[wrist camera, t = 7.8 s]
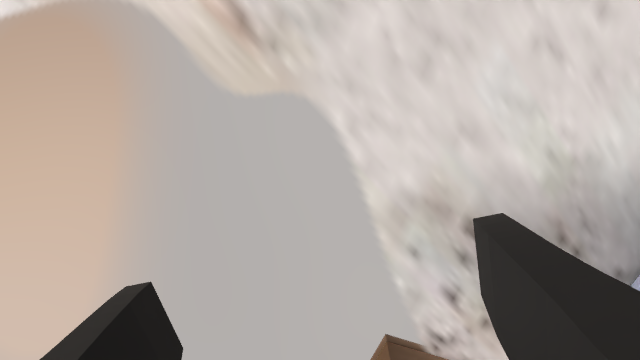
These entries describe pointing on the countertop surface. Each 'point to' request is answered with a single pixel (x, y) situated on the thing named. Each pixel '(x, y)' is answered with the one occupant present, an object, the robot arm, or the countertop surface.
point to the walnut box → (401, 350)
